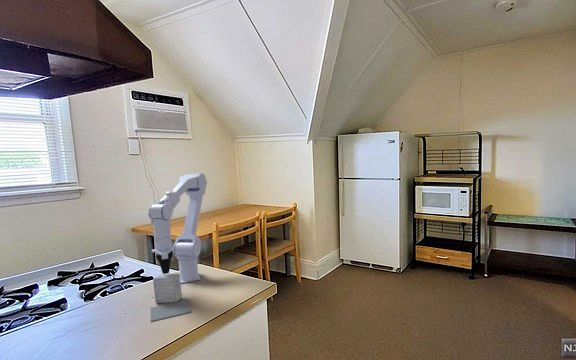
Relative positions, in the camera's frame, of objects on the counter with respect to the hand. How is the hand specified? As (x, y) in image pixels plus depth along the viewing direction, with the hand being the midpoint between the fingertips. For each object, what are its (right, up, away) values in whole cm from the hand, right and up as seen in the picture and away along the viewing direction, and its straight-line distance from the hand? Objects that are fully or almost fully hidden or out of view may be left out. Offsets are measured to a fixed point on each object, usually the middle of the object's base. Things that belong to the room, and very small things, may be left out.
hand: (165, 273), depth 120 cm
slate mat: (+6, -9, -13) cm, 16 cm away
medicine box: (+3, -8, -5) cm, 10 cm away
